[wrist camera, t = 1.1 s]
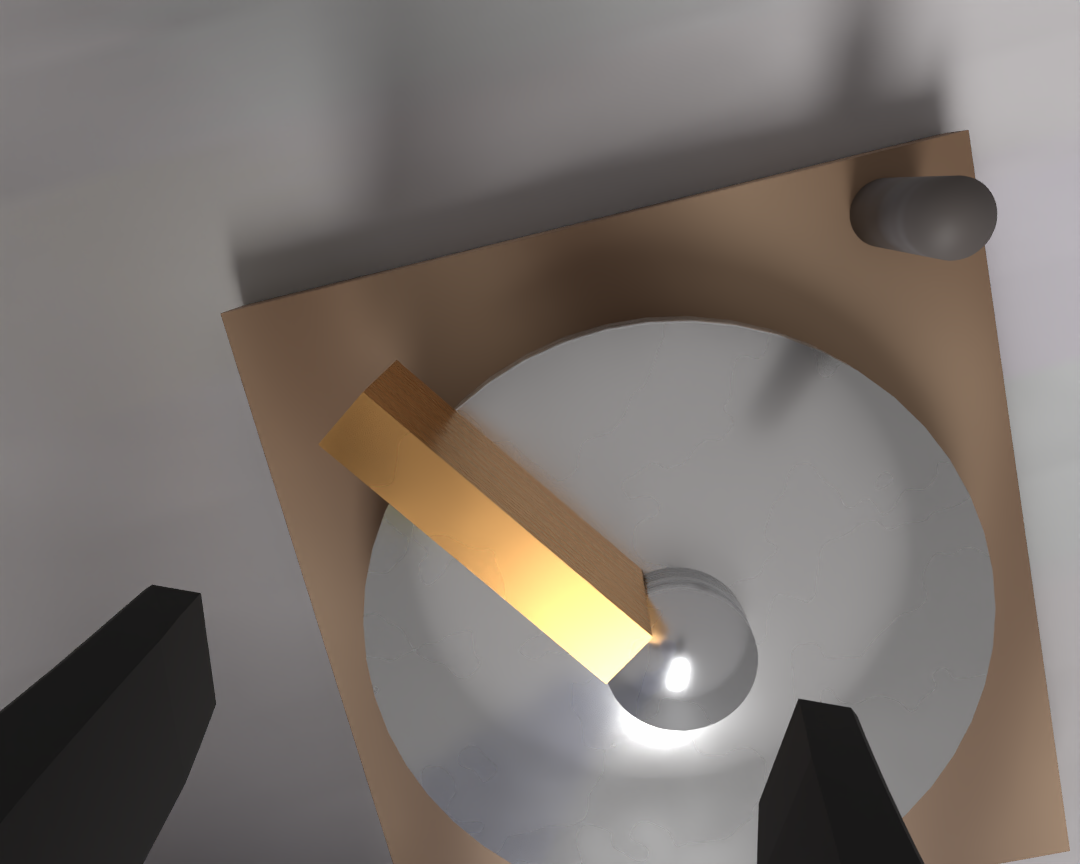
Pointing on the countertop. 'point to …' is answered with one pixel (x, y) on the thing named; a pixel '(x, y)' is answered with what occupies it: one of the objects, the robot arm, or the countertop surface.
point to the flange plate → (660, 585)
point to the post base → (700, 291)
